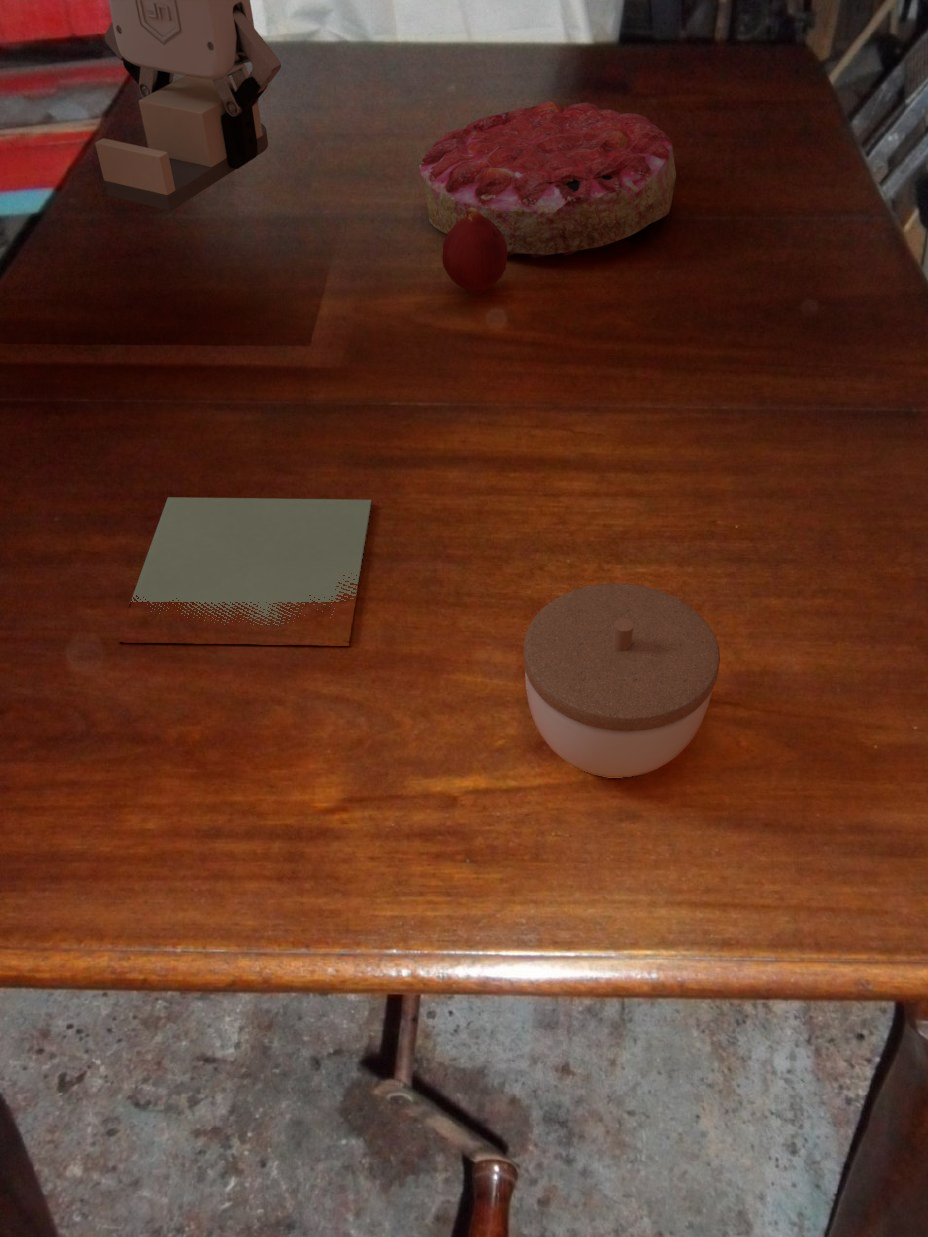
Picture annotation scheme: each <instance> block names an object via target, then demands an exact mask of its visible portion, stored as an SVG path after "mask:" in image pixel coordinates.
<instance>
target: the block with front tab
mask: <svg viewBox="0 0 928 1237" xmlns="http://www.w3.org/2000/svg"><path fill="white" fill-rule="evenodd" d="M229 78H230V77H229ZM230 80H231V83H232V85H233V87H234V90H235V92H236V90H237V87H236V84H235V82H234V80H233V78H232V77H231V78H230ZM138 105H139V110H140V115H141V119H142V124H143V128H144V134H145V138H146V143H147V146H146V147H145V146H140V145H136V144H131V143H128V142H122V141H118V140H114V139H109V138H104V137H103V138H101V139H99V140H97V141H96V142H94V145H95V149H96V153H97V157H98V162H99V165H100V169H101V174H102V177H103V181H104V185H105V190H106V194H107V196H108V197H110V198H113V199H118V200H122V201H126V202H130V203H135V204H139V205H143V206H147V207H152V208H156V209H160V210H165V211H169V212H173V211H174V210H175V209H177V208H178V207H180V206H181V205H183V204H184V203H186V202H188V201H189V200H191V199H192V198H194V197H195V196H197V195H198V194H200V193H202V192H203V191H204V190H206V189H208V188H209V187H211V186H212V185H215V183H217V182H219V181H220V180H222V179H223V178H225V177H226V176H228V175H230V174H231V173H233V172H234V171H235V170H237V169H235V168H231V167H230V166H229V164H228V160H227V154H226V147H225V141H224V135H223V129H222V123H221V116H222V115H224V114H225V113H227V111H226V109H225V107H224V105H223V103H222V100H221V98H220V96H219V94H218V92H217V89H216V87H215V85H214V83H213V80H209V79H202V78H196V77H190V76H185V75H183V76H181V77H180V78H178V79H176V80H173V82H172V83H171V84H169V85H167V86H165V87H163V88H161V89H159V90H157V91H156V92H154V93H152V94H150V95H148V96H146V97H144V98H143V97H142V98H141V99H139V100H138ZM252 109H253V116H254V123H255V130H256V137H257V150H258V154H257V156H259V155H261V154H263V153H264V152H265V151H267V149H268V147H269V140H268V133H267V127H266V126H265V125H264V124H263V123H262V121H261V113H260V106H259V102H258V103H257V104H255V105H254V106H253V107H252Z"/></svg>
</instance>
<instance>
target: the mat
mask: <svg viewBox="0 0 928 1237" xmlns="http://www.w3.org/2000/svg"><path fill="white" fill-rule="evenodd" d="M371 505H373V502H372V499H347V498H346V499H343V498H339V499H338V498H265V497H264V498H262V497H260V498H257V497H256V498H255V497H180V496H179V497H178V496H177V497H176V496H173V497H172V496H170V497H169V496H168V497H167V498H166V502H165V504H164V507H163V510H162V511H161V512H162V513H161V515H160V518H159V521H158V524H157V527H156V529H155V532H154V535H153V538H152V541H151V544H150V546H149V548H148V549H149V550H148V552H147V555H146V557H145V561H144V562H143V566H142V568H141V572H140V574H139V577H138V579H137V582H136V585H135V589H134V591H133V593H132V597H131V599H132V601H133V602H136V601H134V599H133V597H134V598H135V599H136V600H137V601H138V602H142V601H143V602H147V601H149V602H150V603H151V604H152V602H160V603H161V602H169V601H170V602H182V603H183V602H188V603H189V604H191V605H192V603H190V602H194V603H195V604H197V605H198V606H200V607H201V608H203V606H201V604H203V605H204V606H206V607H207V608H209V609H211V610H212V609H213V608H210V606H212V607H214V608H215V609H217V610H219V608H216V607H217V606H218V607H220V608H222V609H223V610H225V611H227V612H229V610H226V608H228V609H230V610H232V611H234V612H235V611H236V610H233V609H232V608H230V607H233V608H235V609H236V608H237V607H234V606H235V605H236V606H238V607H240V608H242V609H244V607H241V605H243V606H245V607H247V608H249V609H251V610H253V611H255V612H257V613H259V614H261V615H263V616H265V617H267V618H269V619H272V617H268V616H269V615H271V616H273V617H275V618H277V619H280V620H281V618H278V617H277V615H279V616H281V617H282V615H280V614H278V613H277V612H274V611H271V609H273V610H275V611H278V612H280V613H282V614H284V613H283V612H281V611H279V610H278V609H276V607H277V608H279V609H281V610H284V609H282V608H280V606H277V604H279V605H281V606H283V607H285V606H286V605H282V603H285V604H287V602H291V603H293V604H295V605H298V604H296V603H297V602H299V603H301V602H309V603H311V602H313V601H315V602H318V603H321V602H334V601H336V602H339V601H340V600H336V599H335V598H338V599H341V597H338V596H336V595H337V594H338V595H341V596H343V594H344V593H347V594H349V595H352V596H356V594H357V593H356V592H357V590H353V588H356V589H357V587H358V586H356V585H350V583H354V584H358V582H359V576H360V571H361V572H362V569H361V565H362V566H363V563H362V559H363V560H364V556H363V553H364V554H365V550H364V546H365V547H366V544H365V541H366V542H367V537H366V535H367V536H368V531H367V530H369V525H368V523H369V524H370V518H369V516H370V517H371V512H370V511H372V506H371ZM351 573H352V574H351ZM343 575H345V576H343ZM356 575H357V576H356ZM348 577H350V578H348ZM360 577H361V576H360ZM343 579H344V580H343ZM353 579H355V580H353ZM345 581H349V582H345ZM338 582H340V583H342V584H339V583H338ZM359 583H360V582H359ZM343 584H345V585H347V586H343ZM336 586H339V587H336ZM348 586H350V587H353V588H348ZM355 586H356V587H355ZM341 587H342V588H344V589H347V590H350V591H346V590H343V589H341ZM335 589H336V590H335ZM339 591H341V592H344V593H339ZM351 591H352V592H355V593H356V594H351ZM136 595H137V596H138V597H139V599H137V598H138V597H136ZM309 595H311V596H309ZM331 596H333V597H331ZM143 597H144V598H143ZM314 597H315V598H314ZM324 597H325V598H324ZM344 597H347V598H348V596H344ZM176 598H177V599H176ZM140 599H141V600H140ZM145 599H146V600H145ZM310 599H311V600H310ZM318 599H320V600H318ZM329 599H330V600H329ZM350 599H354V598H350ZM172 600H174V601H172ZM178 600H179V601H178ZM312 600H313V601H312ZM331 600H333V601H331ZM341 600H344V599H341ZM132 601H131V600H130V602H132ZM344 601H346V600H344ZM196 602H198V603H196ZM199 602H200V603H201V604H199ZM205 602H206V603H207V604H209V605H210V606H207V604H204V603H205ZM211 602H212V603H213V604H211ZM222 602H225V603H226V604H228V605H230V606H228V605H224V604H225V603H222ZM230 602H231V603H230ZM235 602H238V603H240V604H241V605H238V603H235ZM242 602H245V603H242ZM250 602H252V603H250ZM258 602H259V603H258ZM266 602H267V603H266ZM278 602H282V603H278ZM218 603H220V604H221V605H223V606H225V607H226V608H223V607H222V606H221V605H220V604H218ZM232 603H233V604H235V605H232ZM246 603H247V604H248V605H245V604H246ZM273 603H277V604H273ZM156 604H157V603H156ZM162 604H163V603H162ZM167 604H168V603H167ZM172 604H174V603H172ZM178 604H179V605H180V603H178ZM184 604H185V605H186V603H184ZM189 604H187V606H188V607H189V608H191V607H190V606H189ZM214 604H215V605H217V606H214ZM253 604H256V605H253ZM269 604H271V605H269ZM302 604H304V605H305V603H302ZM331 604H332V603H331ZM147 605H148V604H147ZM152 605H154V604H152ZM249 605H250V606H252V607H254V608H255V609H258V610H255V609H252V607H249ZM257 605H258V607H256V606H257ZM272 605H273V606H275V607H272ZM287 605H289V606H290V605H291V604H287ZM313 605H315V604H313ZM323 605H326V604H323ZM159 606H160V604H159ZM164 606H165V605H164ZM175 606H176V605H175ZM181 606H182V605H181ZM192 606H194V607H195V608H197V607H198V606H195V605H192ZM298 606H300V605H298ZM150 607H151V606H150ZM155 607H156V606H155ZM160 607H162V606H160ZM183 607H184V608H185V606H183ZM260 607H261V608H260ZM268 607H269V608H268ZM291 607H295V606H291ZM329 607H330V606H329ZM167 608H168V607H167ZM178 608H179V607H178ZM270 608H271V609H270ZM285 608H287V609H289V608H290V607H285ZM302 608H303V607H302ZM152 609H153V608H152ZM158 609H159V608H158ZM163 609H164V608H163ZM168 609H169V608H168ZM180 609H181V608H180ZM185 609H187V608H185ZM191 609H192V610H193V609H194V608H191ZM197 609H198V610H200V608H197ZM203 609H204V610H205V609H206V608H203ZM263 609H265V610H263ZM296 609H299V608H296ZM334 609H335V608H334ZM154 610H155V609H154ZM237 610H239V611H240V612H242V613H244V614H246V612H243V610H240V609H237ZM244 610H245V611H247V609H244ZM251 610H249V611H247V612H249V613H251V614H253V615H255V616H257V617H260V618H262V619H264V618H265V617H261V615H258V614H254V612H251ZM259 610H260V611H262V612H264V613H262V612H259ZM267 610H268V611H270V612H272V613H274V614H276V615H273V614H269V613H270V612H268V611H267ZM290 610H292V609H290ZM317 610H318V609H317ZM160 611H161V610H160ZM166 611H167V610H166ZM177 611H178V610H177ZM182 611H184V610H182ZM188 611H190V610H188ZM194 611H196V610H194ZM200 611H202V610H200ZM206 611H208V610H206ZM212 611H214V612H215V610H212ZM212 611H208V612H209V613H211V612H212ZM219 611H220V612H222V610H219ZM284 611H286V610H284ZM292 611H293V610H292ZM301 611H302V610H301ZM151 612H152V611H151ZM184 612H185V613H186V611H184ZM202 612H203V613H204V612H205V611H202ZM286 612H288V611H286ZM294 612H298V611H294ZM322 612H323V611H322ZM333 612H334V611H333ZM191 613H192V612H191ZM197 613H199V611H198V612H197ZM216 613H217V614H219V615H221V613H218V611H217V612H216ZM222 613H224V614H226V615H227V616H229V617H231V615H228V613H225V612H222ZM229 613H230V614H232V612H229ZM235 613H237V614H238V613H239V612H235ZM288 613H290V612H288ZM159 614H160V613H159ZM181 614H183V613H181ZM187 614H188V615H189V613H187ZM199 614H200V615H201V613H199ZM205 614H206V615H207V613H205ZM211 614H213V615H214V613H211ZM266 614H268V615H266ZM290 614H292V613H290ZM299 614H301V613H299ZM194 615H195V613H194ZM232 615H234V616H235V614H232ZM239 615H242V614H239ZM246 615H248V616H249V615H250V614H246ZM253 615H250V617H252V618H254V619H256V618H257V617H253ZM284 615H287V614H284ZM293 615H295V614H293ZM331 615H333V614H331ZM184 616H185V615H184ZM196 616H198V615H196ZM202 616H203V615H202ZM208 616H210V615H208ZM214 616H216V617H217V615H214ZM221 616H223V617H224V615H221ZM287 616H289V617H291V615H287ZM295 616H296V615H295ZM304 616H305V615H304ZM236 617H237V616H236ZM243 617H245V616H243ZM298 617H299V616H298ZM187 618H188V617H187ZM193 618H194V617H193ZM199 618H200V617H199ZM205 618H206V617H205ZM212 618H213V617H212ZM218 618H220V617H218ZM224 618H226V619H227V617H224ZM231 618H233V617H231ZM245 618H247V619H248V618H249V617H245ZM283 618H286V617H283ZM330 618H331V617H330ZM213 619H214V618H213ZM233 619H234V618H233ZM240 619H241V618H240ZM294 619H295V618H294ZM215 620H216V619H215ZM222 620H223V619H222ZM228 620H230V619H228ZM235 620H236V619H235ZM242 620H244V619H242ZM249 620H251V621H252V619H249ZM256 620H258V621H260V619H256ZM264 620H266V621H268V619H264ZM272 620H274V621H276V619H272ZM288 620H290V619H288ZM204 621H205V620H204ZM211 621H212V620H211ZM217 621H219V620H217ZM223 621H225V622H226V620H223ZM282 621H285V620H282ZM232 622H233V621H232ZM239 622H240V621H239ZM246 622H247V621H246ZM253 622H255V621H253ZM261 622H263V621H261ZM268 622H271V621H268ZM276 622H279V623H280V621H276ZM293 622H294V621H293ZM214 623H215V622H214ZM221 623H222V622H221ZM227 623H229V622H227ZM255 623H257V622H255ZM263 623H265V624H267V622H263ZM287 623H289V622H287ZM250 624H251V623H250ZM257 624H259V623H257ZM273 624H275V622H274V623H273ZM281 624H284V623H281ZM224 625H225V624H224ZM253 625H254V624H253ZM260 625H263V624H260ZM267 625H270V624H267ZM275 625H278V624H275ZM278 626H279V625H278Z"/></svg>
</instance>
